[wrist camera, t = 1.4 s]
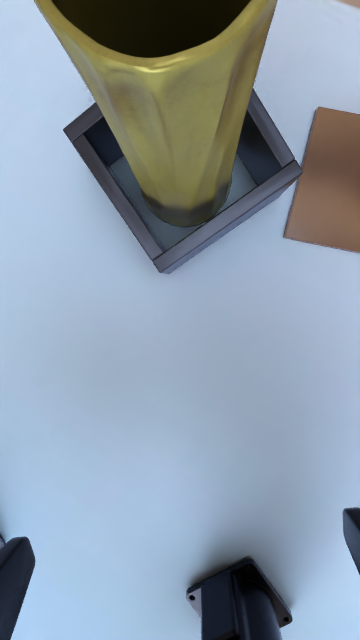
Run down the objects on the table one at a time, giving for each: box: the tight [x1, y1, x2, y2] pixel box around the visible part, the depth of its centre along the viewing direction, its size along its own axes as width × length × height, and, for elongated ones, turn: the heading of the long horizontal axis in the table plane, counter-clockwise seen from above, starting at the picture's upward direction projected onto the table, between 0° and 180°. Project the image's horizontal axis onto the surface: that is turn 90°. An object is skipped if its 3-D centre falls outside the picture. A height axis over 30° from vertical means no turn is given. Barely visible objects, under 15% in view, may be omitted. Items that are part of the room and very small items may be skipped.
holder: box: [63, 89, 303, 274], centre depth 13 cm, size 10×9×12 cm
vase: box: [34, 0, 277, 226], centre depth 12 cm, size 6×6×14 cm
